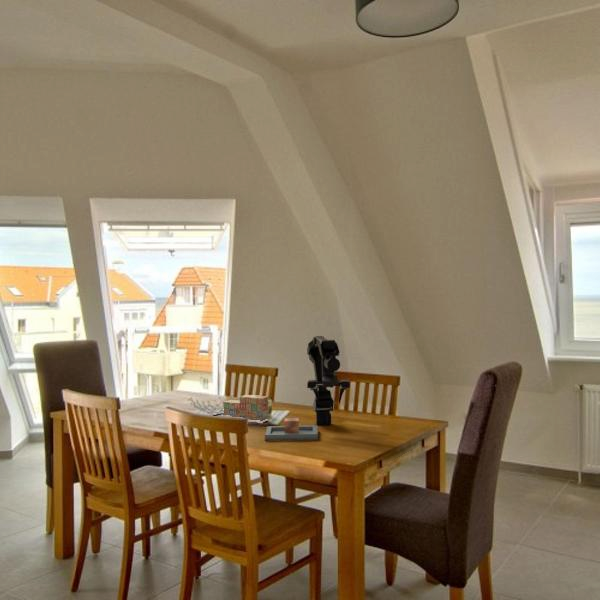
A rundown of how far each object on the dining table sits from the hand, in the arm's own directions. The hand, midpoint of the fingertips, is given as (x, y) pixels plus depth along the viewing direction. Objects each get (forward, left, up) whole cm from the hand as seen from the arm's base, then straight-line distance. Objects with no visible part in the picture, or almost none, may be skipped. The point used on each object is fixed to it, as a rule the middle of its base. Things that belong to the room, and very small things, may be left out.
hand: (329, 403), depth 264 cm
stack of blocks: (-39, +22, -12) cm, 47 cm away
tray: (-16, -10, -12) cm, 23 cm away
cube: (-16, -10, -11) cm, 22 cm away
